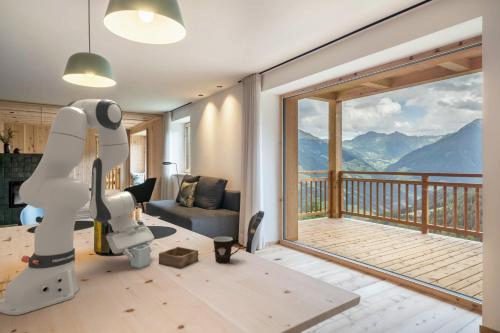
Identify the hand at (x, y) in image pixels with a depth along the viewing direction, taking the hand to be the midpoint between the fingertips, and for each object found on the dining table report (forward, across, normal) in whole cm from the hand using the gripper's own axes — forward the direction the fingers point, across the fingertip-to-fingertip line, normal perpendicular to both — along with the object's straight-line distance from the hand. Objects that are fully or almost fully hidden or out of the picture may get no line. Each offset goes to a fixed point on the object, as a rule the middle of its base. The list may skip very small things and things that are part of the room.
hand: (141, 255), depth 130 cm
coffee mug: (+23, +23, -16) cm, 36 cm away
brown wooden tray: (+10, +12, -4) cm, 16 cm away
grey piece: (+3, 0, +4) cm, 5 cm away
